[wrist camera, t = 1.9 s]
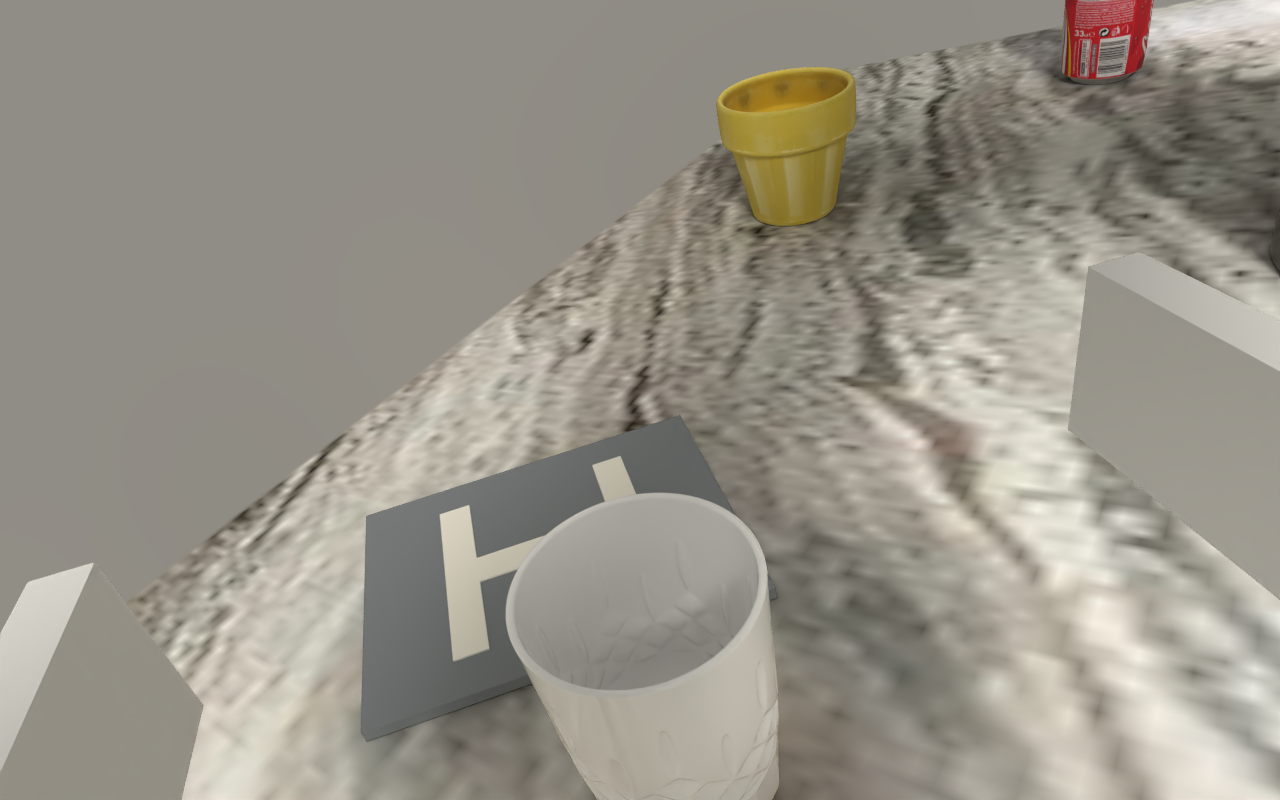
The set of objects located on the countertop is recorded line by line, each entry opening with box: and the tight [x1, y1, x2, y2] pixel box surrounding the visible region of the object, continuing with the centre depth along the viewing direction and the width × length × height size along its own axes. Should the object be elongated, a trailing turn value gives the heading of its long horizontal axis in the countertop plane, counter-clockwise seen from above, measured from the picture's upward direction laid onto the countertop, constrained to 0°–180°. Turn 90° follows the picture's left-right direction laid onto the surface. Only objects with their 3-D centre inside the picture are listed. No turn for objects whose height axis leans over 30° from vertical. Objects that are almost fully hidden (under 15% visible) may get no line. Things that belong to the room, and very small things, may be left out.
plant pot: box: [716, 67, 856, 226], centre depth 65 cm, size 10×10×10 cm
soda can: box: [1061, 0, 1154, 84], centre depth 76 cm, size 7×7×12 cm
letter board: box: [361, 415, 777, 741], centre depth 41 cm, size 18×14×1 cm
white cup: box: [506, 493, 779, 800], centre depth 28 cm, size 8×8×10 cm
